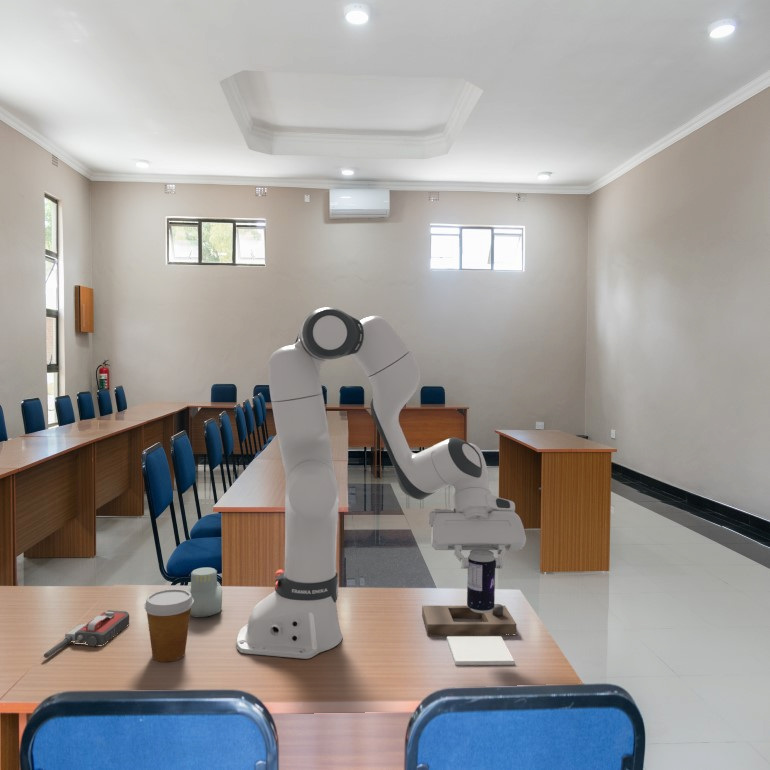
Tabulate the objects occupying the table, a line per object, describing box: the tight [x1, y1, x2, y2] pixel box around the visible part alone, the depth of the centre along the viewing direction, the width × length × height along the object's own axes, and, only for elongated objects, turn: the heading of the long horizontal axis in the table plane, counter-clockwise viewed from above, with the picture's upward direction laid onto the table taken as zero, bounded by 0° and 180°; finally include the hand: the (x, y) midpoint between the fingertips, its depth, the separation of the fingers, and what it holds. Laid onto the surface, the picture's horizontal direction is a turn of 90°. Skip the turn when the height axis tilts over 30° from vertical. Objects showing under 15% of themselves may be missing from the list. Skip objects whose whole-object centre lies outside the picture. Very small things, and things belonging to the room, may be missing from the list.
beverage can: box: [466, 549, 496, 613], centre depth 129 cm, size 6×6×12 cm
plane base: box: [421, 603, 517, 636], centre depth 142 cm, size 20×10×4 cm, turn 93°
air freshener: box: [186, 566, 223, 618], centre depth 146 cm, size 11×8×10 cm
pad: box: [446, 635, 515, 666], centre depth 129 cm, size 12×11×1 cm
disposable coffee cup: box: [143, 588, 194, 663], centre depth 125 cm, size 10×10×12 cm
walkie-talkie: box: [43, 609, 130, 659], centre depth 131 cm, size 9×4×20 cm
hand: (482, 567), depth 128 cm, fingers closed on beverage can, 6 cm apart
